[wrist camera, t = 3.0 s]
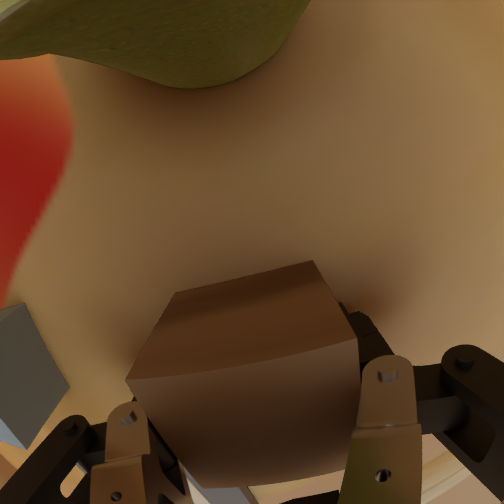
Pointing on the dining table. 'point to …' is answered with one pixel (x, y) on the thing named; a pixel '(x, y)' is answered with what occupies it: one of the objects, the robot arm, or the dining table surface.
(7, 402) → the blue block
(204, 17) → the plant pot
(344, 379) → the walnut block
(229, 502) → the plate
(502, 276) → the dining table surface
